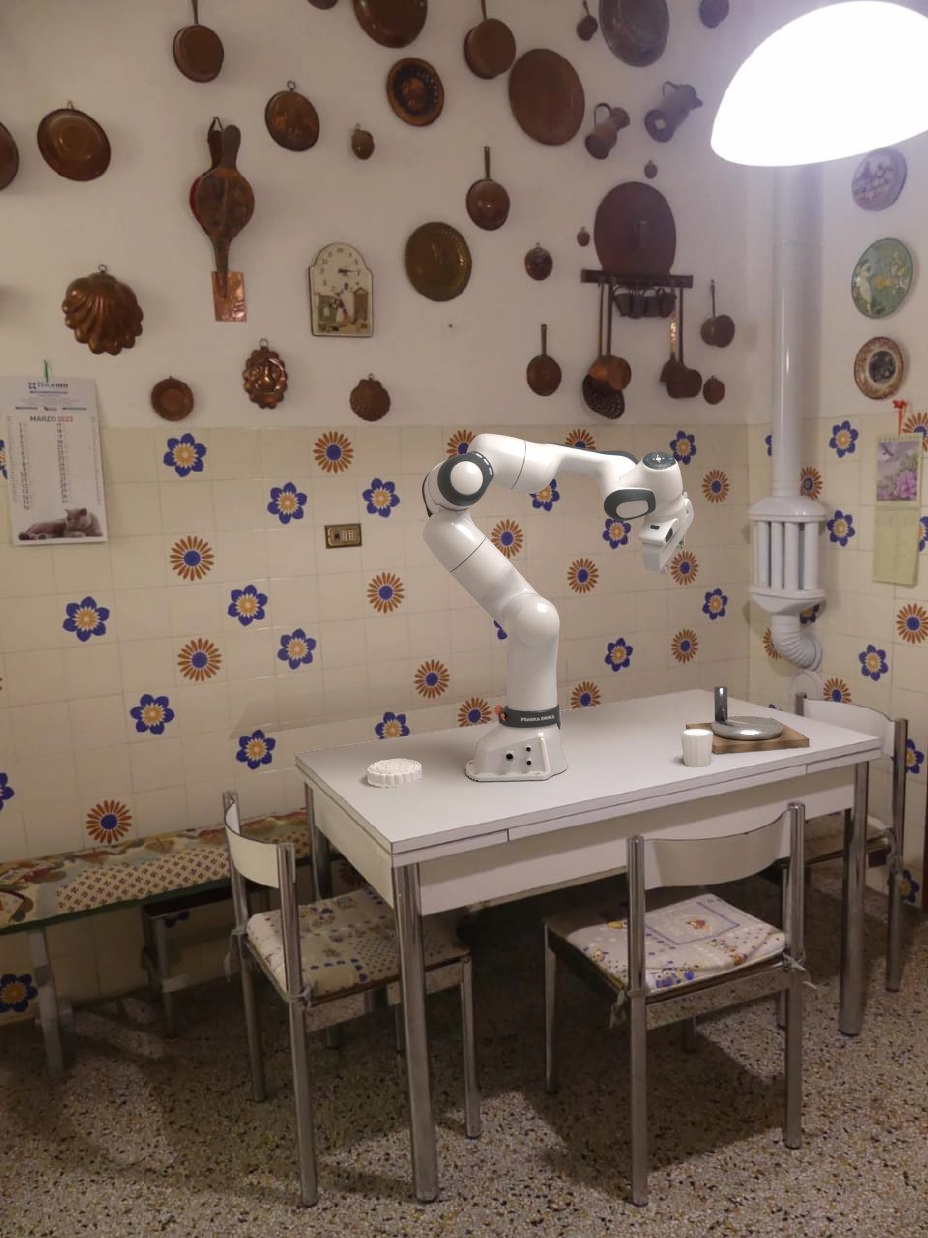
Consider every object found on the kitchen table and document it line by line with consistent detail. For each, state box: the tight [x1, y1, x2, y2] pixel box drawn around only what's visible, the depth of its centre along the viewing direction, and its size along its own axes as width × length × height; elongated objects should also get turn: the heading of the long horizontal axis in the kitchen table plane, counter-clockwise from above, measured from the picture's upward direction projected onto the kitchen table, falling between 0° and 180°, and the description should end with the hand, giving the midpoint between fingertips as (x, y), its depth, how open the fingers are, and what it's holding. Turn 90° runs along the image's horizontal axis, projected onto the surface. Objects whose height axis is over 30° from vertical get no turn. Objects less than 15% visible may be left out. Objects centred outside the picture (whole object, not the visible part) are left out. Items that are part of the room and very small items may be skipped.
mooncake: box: [366, 757, 423, 785], centre depth 207 cm, size 12×12×4 cm
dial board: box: [685, 717, 810, 755], centre depth 223 cm, size 22×20×2 cm
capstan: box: [712, 685, 784, 740], centre depth 222 cm, size 16×16×10 cm
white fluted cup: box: [680, 729, 713, 768], centre depth 207 cm, size 7×7×7 cm
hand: (672, 559), depth 226 cm, fingers open, 8 cm apart
